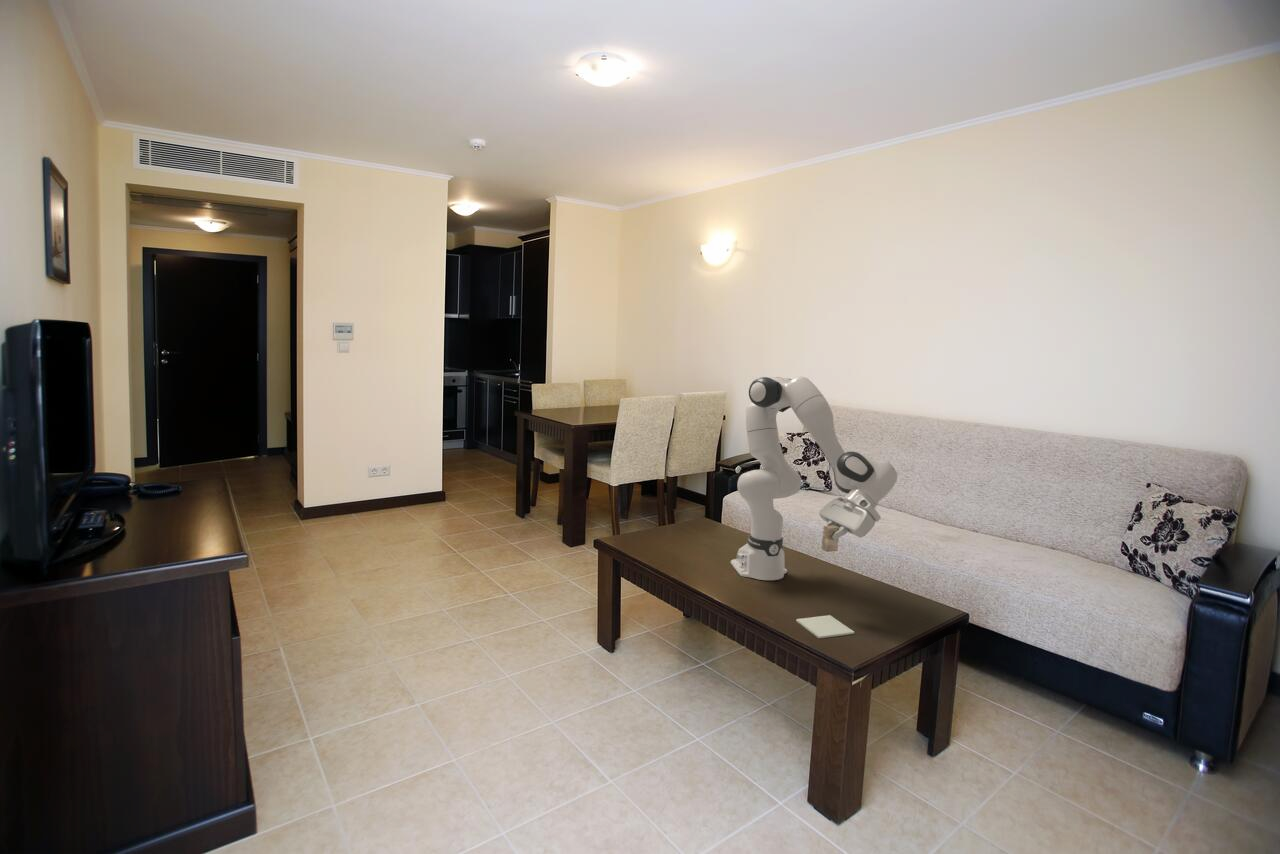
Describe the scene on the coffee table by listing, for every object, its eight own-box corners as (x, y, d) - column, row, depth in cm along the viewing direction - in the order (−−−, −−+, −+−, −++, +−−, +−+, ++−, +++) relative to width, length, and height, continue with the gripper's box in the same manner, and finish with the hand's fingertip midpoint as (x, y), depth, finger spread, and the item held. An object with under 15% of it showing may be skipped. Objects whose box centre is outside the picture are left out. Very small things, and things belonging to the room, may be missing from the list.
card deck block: (821, 548, 204) (823, 525, 203) (832, 548, 205) (834, 525, 204) (826, 551, 201) (828, 528, 200) (837, 550, 202) (839, 527, 201)
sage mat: (796, 621, 198) (796, 619, 198) (829, 616, 202) (829, 615, 201) (819, 638, 186) (819, 636, 186) (854, 633, 190) (854, 631, 190)
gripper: (832, 490, 213) (804, 520, 211) (873, 506, 194) (843, 539, 192) (843, 502, 215) (815, 533, 213) (884, 519, 196) (854, 553, 194)
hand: (828, 536), depth 202 cm, fingers closed on card deck block, 3 cm apart
